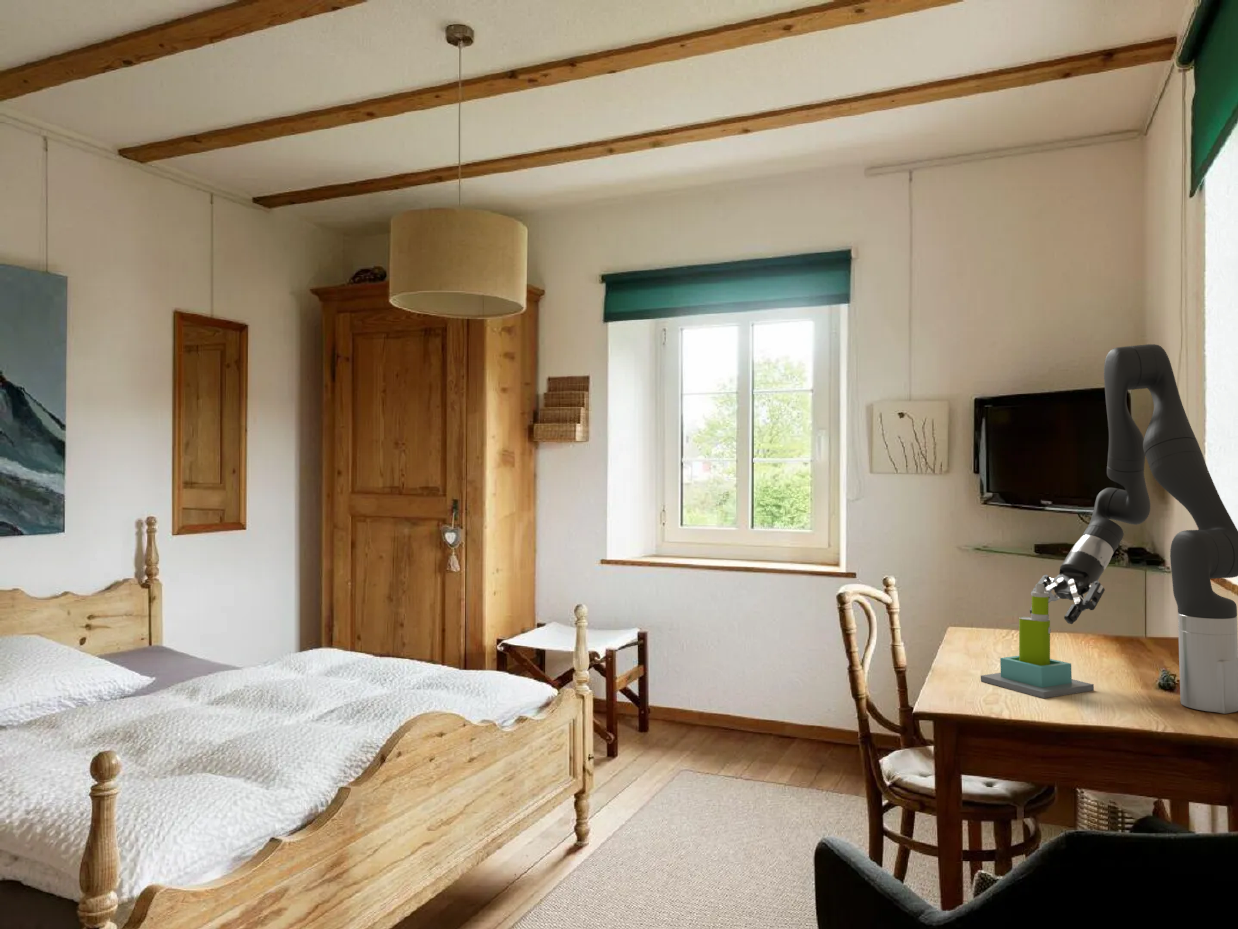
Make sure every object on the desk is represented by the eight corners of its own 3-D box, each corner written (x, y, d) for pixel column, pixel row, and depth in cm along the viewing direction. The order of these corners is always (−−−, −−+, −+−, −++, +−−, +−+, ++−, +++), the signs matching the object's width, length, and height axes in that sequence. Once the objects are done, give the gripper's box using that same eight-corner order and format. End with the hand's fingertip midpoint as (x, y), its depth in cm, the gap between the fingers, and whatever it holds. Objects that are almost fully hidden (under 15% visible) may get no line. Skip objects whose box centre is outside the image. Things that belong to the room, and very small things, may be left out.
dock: (1093, 690, 174) (1093, 664, 174) (1043, 698, 168) (1042, 672, 169) (1028, 674, 189) (1028, 650, 189) (980, 681, 183) (980, 657, 183)
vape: (1048, 682, 176) (1048, 585, 176) (1017, 678, 179) (1017, 583, 180) (1052, 679, 179) (1052, 584, 179) (1021, 675, 182) (1021, 581, 183)
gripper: (1049, 547, 191) (1013, 602, 186) (1108, 551, 178) (1070, 611, 173) (1067, 569, 193) (1031, 624, 188) (1126, 575, 180) (1089, 635, 175)
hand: (1050, 618), depth 180 cm, fingers open, 8 cm apart
